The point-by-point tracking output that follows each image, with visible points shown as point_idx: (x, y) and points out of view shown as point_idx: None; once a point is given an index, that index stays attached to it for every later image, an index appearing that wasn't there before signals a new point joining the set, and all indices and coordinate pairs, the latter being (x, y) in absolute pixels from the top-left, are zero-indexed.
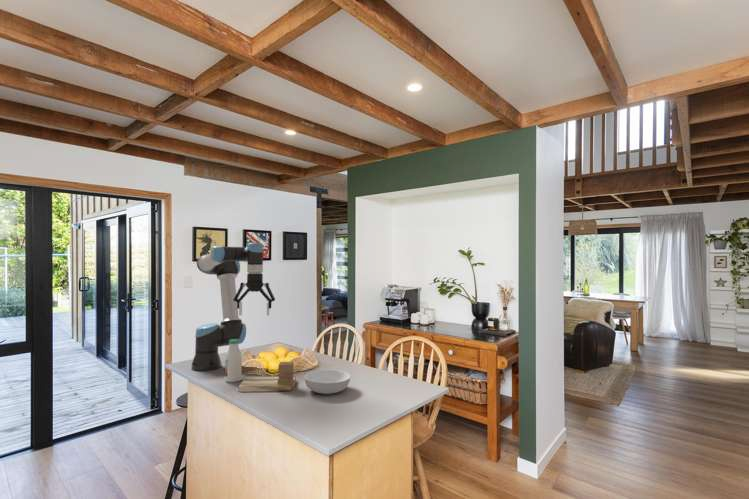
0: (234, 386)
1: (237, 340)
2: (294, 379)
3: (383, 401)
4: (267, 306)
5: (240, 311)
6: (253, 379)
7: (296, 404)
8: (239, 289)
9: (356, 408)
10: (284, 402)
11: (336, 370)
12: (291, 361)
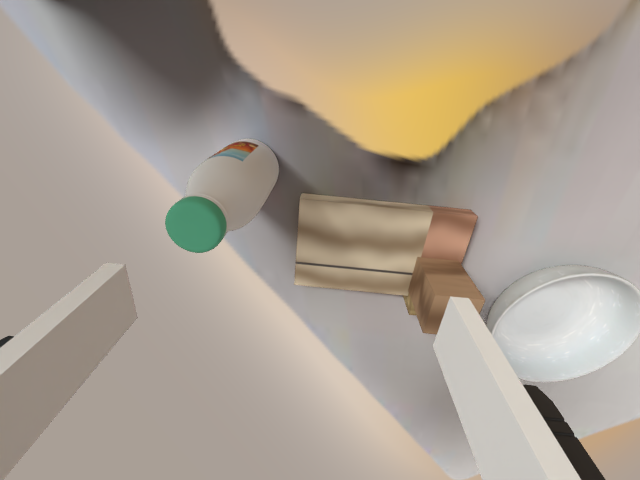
0: (273, 230)
1: (218, 240)
2: (464, 252)
3: (634, 380)
4: (484, 460)
5: (105, 353)
6: (329, 232)
7: (438, 366)
8: None
9: (554, 399)
10: (413, 353)
11: (627, 283)
12: (477, 299)
